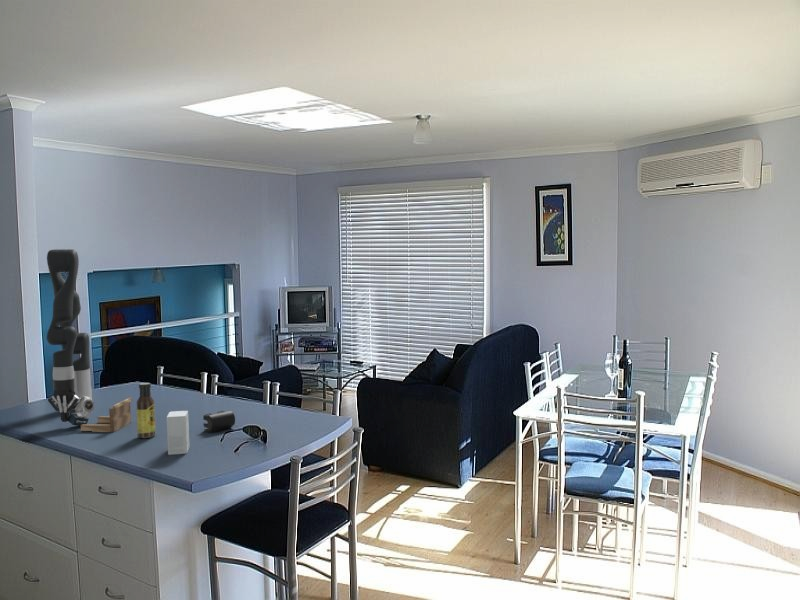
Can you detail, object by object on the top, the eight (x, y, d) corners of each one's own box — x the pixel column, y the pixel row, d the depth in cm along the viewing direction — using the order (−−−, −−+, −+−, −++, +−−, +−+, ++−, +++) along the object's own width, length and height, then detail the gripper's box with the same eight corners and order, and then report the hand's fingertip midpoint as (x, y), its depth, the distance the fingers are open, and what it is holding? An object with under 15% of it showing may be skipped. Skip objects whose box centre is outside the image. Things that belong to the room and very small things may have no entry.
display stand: (99, 422, 270) (98, 397, 269) (133, 422, 269) (132, 397, 268) (81, 431, 256) (79, 405, 255) (116, 431, 255) (114, 405, 254)
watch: (75, 427, 259) (86, 400, 259) (65, 418, 263) (76, 392, 264) (88, 428, 263) (99, 402, 263) (78, 420, 268) (89, 394, 268)
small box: (170, 448, 233) (169, 411, 232) (189, 446, 235) (188, 410, 234) (167, 455, 225) (166, 416, 224) (187, 453, 227) (185, 415, 226)
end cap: (212, 434, 251) (212, 416, 250) (202, 431, 255) (202, 413, 255) (235, 429, 258) (235, 411, 257) (225, 425, 263) (225, 408, 262)
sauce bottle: (154, 438, 246) (152, 384, 244) (136, 439, 244) (134, 385, 243) (156, 433, 252) (154, 381, 251) (139, 435, 251) (136, 382, 249)
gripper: (85, 376, 265) (86, 419, 266) (53, 375, 266) (54, 418, 267) (74, 379, 257) (76, 424, 258) (41, 379, 258) (43, 423, 259)
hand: (65, 421), depth 263 cm, fingers closed
